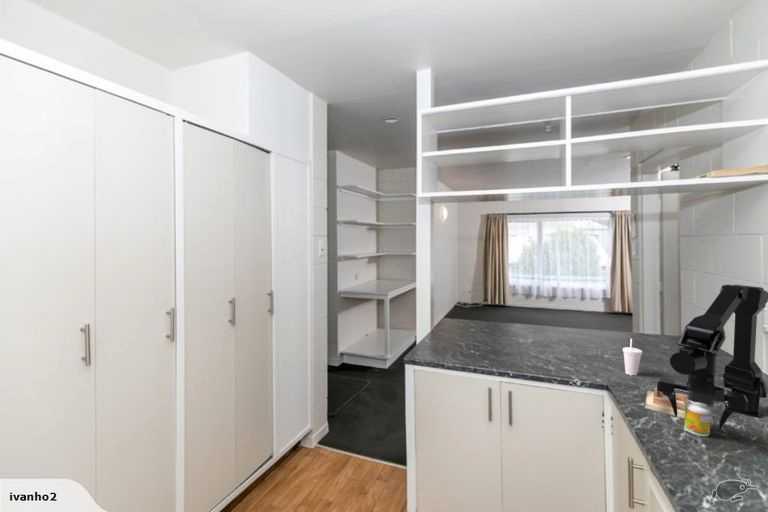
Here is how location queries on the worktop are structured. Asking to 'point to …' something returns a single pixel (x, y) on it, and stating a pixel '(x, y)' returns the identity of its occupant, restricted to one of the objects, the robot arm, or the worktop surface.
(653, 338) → the worktop surface
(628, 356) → the smoothie
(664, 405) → the birch stand
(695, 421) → the supplement bottle
